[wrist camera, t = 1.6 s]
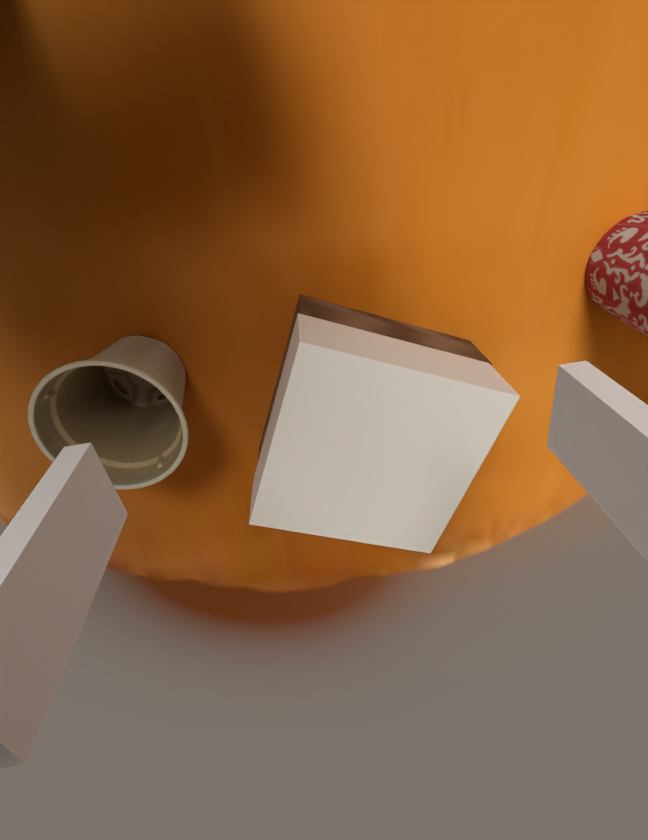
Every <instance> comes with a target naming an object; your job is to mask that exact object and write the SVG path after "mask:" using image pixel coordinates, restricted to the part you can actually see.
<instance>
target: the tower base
mask: <svg viewBox="0 0 648 840" xmlns="http://www.w3.org/2000/svg"><path fill="white" fill-rule="evenodd" d="M298 313H299V314H303V315H307V316H311V317H315V318H319V319H322V320H326V321H330V322H334V323H338V324H341V325H345V326H349V327H353V328H357V329H361V330H364V331H368V332H372V333H376V334H380V335H383V336H387V337H391V338H395V339H399V340H403V341H406V342H410V343H414V344H418V345H422V346H425V347H429V348H433V349H437V350H441V351H445V352H448V353H452V354H456V355H460V356H464V357H467V358H471V359H475V360H479V361H483V362H487V363H489V364H490V365H492V364H491V362H490V361H489V360H488V359H487V358H486V357H485V356H484V355H483V354H482V353H481V352H480V351H479V350H478V349H477V348H476V347H475V346H474V345H473V344H472V343H471V341H469V340H465V339H462V338H458V337H454V336H451V335H447V334H443V333H439V332H436V331H432V330H428V329H425V328H421V327H417V326H414V325H410V324H406V323H403V322H399V321H395V320H392V319H388V318H384V317H381V316H377V315H373V314H370V313H366V312H362V311H358V310H355V309H351V308H347V307H344V306H340V305H336V304H333V303H329V302H325V301H322V300H318V299H314V298H311V297H307V296H303V295H300V296H299V300H298V303H297V307H296V311H295V315H294V318H293V322H292V326H291V330H290V333H289V337H288V341H287V345H286V349H285V352H284V356H283V360H282V364H281V367H280V371H279V375H278V379H277V383H276V386H275V390H274V394H273V398H272V401H271V405H270V409H269V413H268V417H267V420H266V424H265V428H264V432H263V435H262V439H261V443H260V447H259V456H258V460H259V457H260V453H261V449H262V445H263V442H264V438H265V434H266V430H267V427H268V423H269V419H270V415H271V412H272V408H273V404H274V400H275V397H276V393H277V389H278V386H279V382H280V378H281V374H282V371H283V367H284V363H285V359H286V356H287V352H288V348H289V344H290V341H291V337H292V333H293V329H294V326H295V322H296V318H297V314H298Z"/></svg>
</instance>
